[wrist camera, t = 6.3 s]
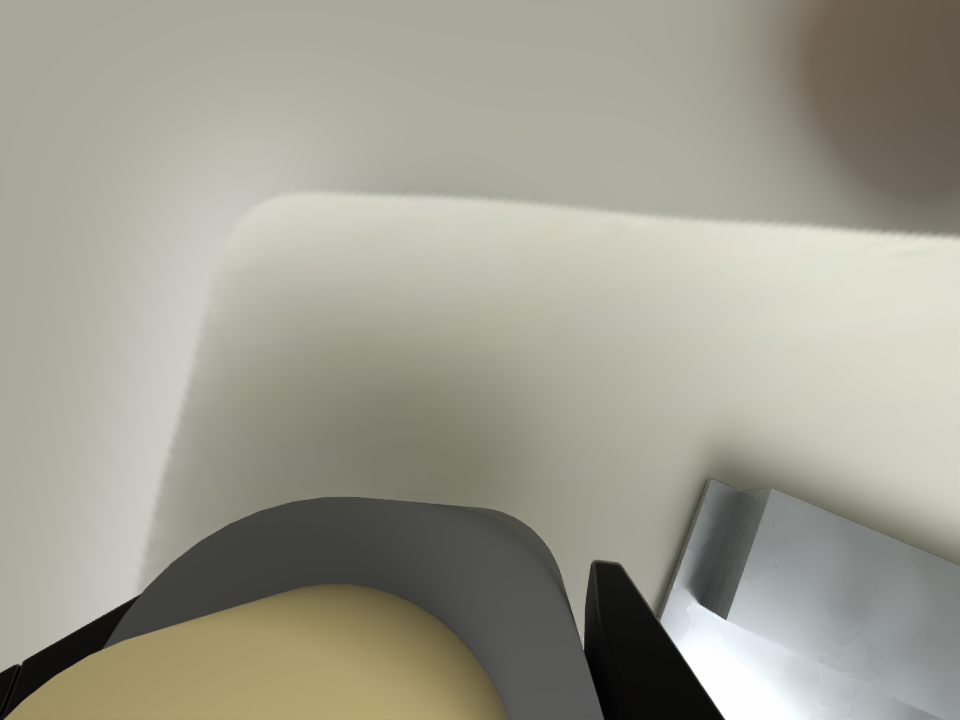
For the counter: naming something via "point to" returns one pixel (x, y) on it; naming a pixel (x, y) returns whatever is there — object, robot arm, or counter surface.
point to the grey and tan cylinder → (342, 625)
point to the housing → (812, 614)
